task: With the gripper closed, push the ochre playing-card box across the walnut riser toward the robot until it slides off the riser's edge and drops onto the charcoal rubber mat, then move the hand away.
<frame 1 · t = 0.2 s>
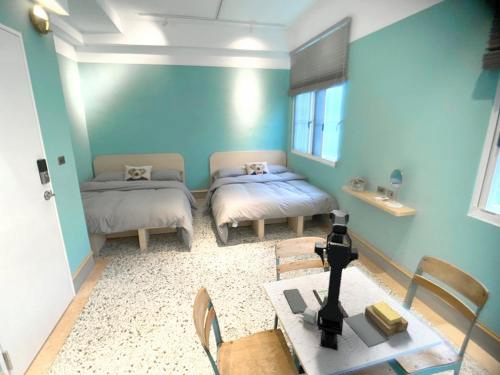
hand: (334, 266, 117), 15 cm above the table, fingers open, 9 cm apart
riser: (384, 322, 105), on the table
smartphone: (295, 301, 117), on the table
usb wall charger: (306, 318, 107), on the table
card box: (386, 314, 103), point 4 cm above the table, touching riser
chocolate bar: (329, 304, 115), on the table
mat: (365, 328, 101), on the table
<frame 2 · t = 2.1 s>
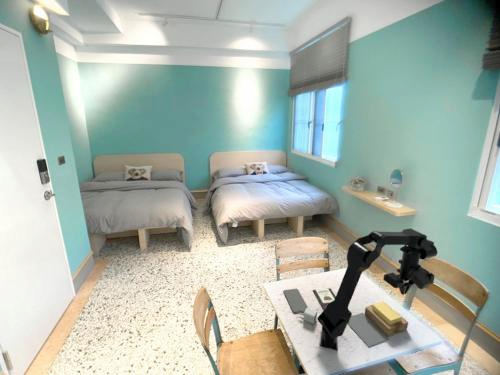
hand: (403, 293, 104), 12 cm above the table, fingers closed
nothing on the table moved.
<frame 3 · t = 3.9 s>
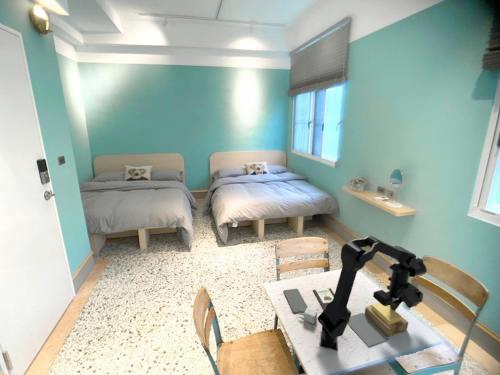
hand: (393, 310, 104), 5 cm above the table, fingers closed
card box: (385, 314, 103), point 4 cm above the table, touching gripper, riser
everything else where it was.
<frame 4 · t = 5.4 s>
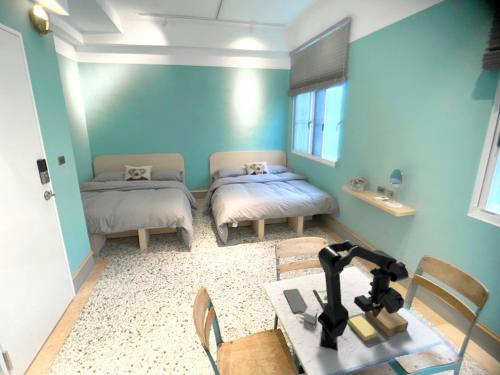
hand: (374, 316, 101), 5 cm above the table, fingers closed
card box: (362, 325, 100), point 2 cm above the table, tilted 180°, touching mat
everything else where it was.
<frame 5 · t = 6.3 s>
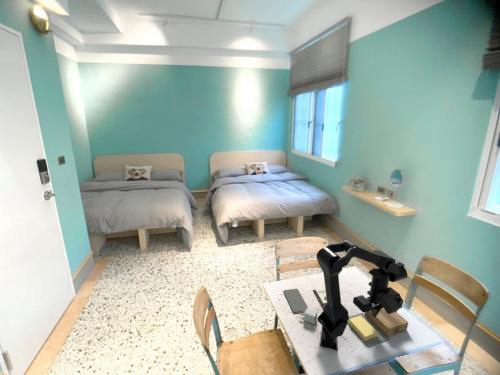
hand: (374, 316, 101), 5 cm above the table, fingers closed
nothing on the table moved.
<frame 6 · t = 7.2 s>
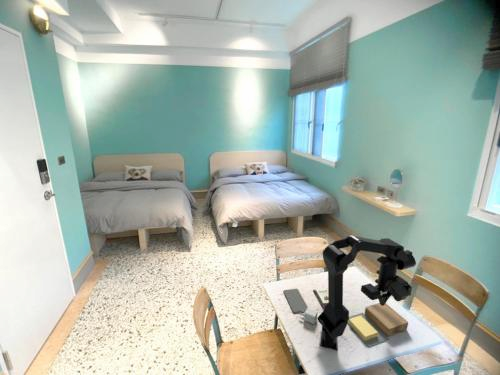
hand: (382, 305, 101), 10 cm above the table, fingers closed
nothing on the table moved.
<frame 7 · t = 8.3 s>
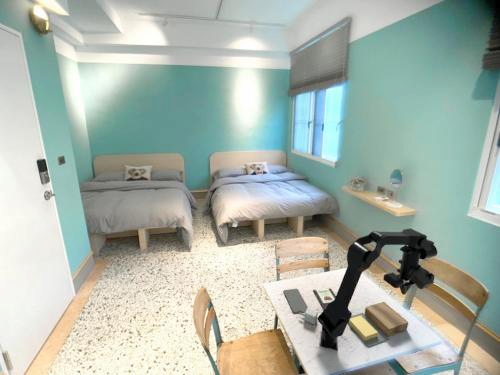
hand: (403, 293, 104), 12 cm above the table, fingers closed
nothing on the table moved.
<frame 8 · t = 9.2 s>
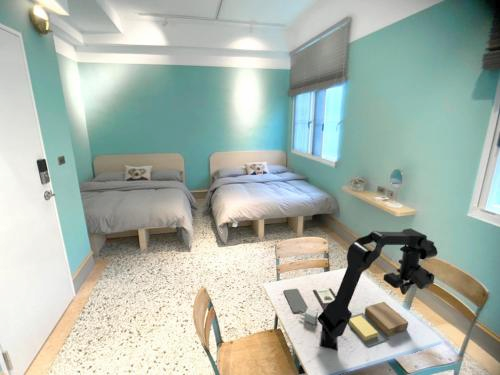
hand: (403, 293, 104), 12 cm above the table, fingers closed
nothing on the table moved.
at the end: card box point 2.3 cm above the table; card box inside the target area on the mat (1.6 cm from its centre), point 2.3 cm above the mat's base; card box touching mat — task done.
